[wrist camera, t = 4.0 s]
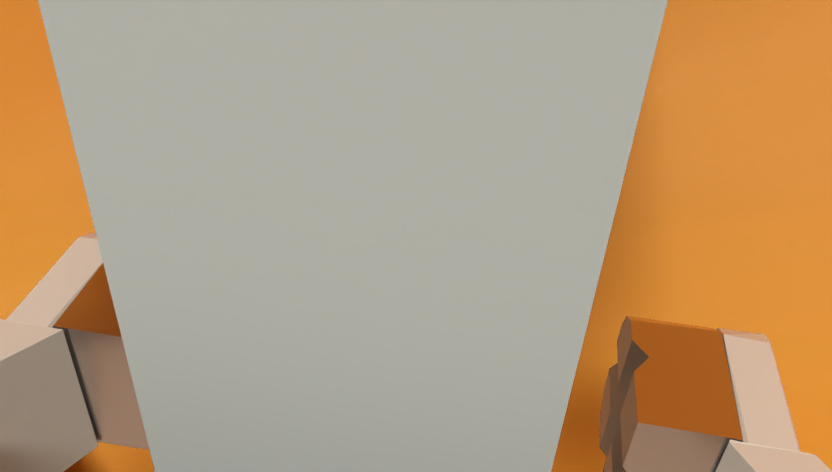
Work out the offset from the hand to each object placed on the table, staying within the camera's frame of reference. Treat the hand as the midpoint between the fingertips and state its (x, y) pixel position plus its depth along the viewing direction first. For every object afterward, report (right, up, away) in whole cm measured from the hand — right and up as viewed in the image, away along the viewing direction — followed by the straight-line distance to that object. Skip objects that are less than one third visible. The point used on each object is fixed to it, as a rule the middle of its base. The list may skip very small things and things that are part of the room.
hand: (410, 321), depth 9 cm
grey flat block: (+1, +4, +5) cm, 7 cm away
